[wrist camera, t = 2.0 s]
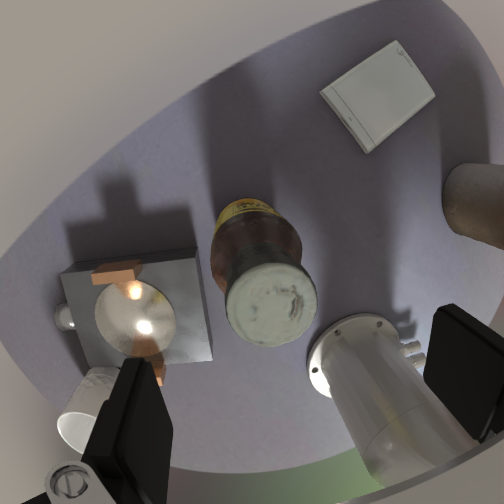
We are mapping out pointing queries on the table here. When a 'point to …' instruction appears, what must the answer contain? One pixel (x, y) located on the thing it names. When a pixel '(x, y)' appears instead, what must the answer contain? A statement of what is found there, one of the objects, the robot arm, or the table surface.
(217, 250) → the sauce bottle
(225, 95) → the table surface
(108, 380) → the white cup
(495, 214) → the pillar candle
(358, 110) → the hard drive
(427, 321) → the table surface
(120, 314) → the block
